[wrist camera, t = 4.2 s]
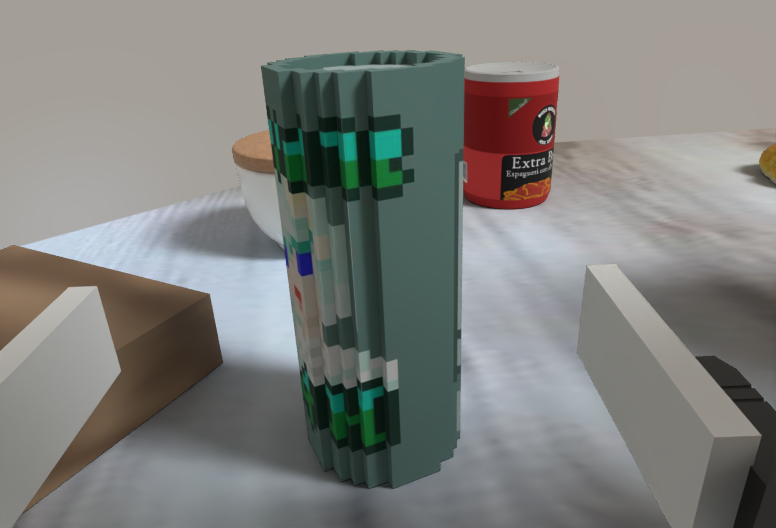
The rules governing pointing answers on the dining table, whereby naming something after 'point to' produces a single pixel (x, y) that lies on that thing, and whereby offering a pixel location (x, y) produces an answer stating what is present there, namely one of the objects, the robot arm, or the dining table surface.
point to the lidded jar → (259, 182)
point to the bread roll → (769, 163)
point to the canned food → (509, 133)
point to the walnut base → (115, 343)
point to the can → (373, 252)
